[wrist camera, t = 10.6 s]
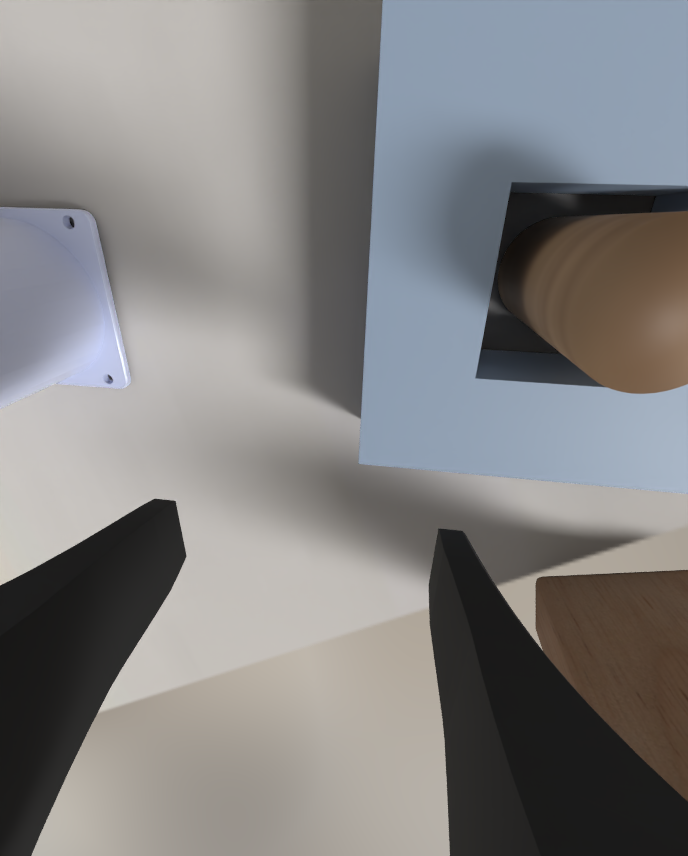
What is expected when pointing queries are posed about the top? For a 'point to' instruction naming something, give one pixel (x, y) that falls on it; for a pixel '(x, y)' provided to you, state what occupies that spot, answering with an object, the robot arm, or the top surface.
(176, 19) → the top surface
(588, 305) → the peg
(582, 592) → the wooden block
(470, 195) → the socket
